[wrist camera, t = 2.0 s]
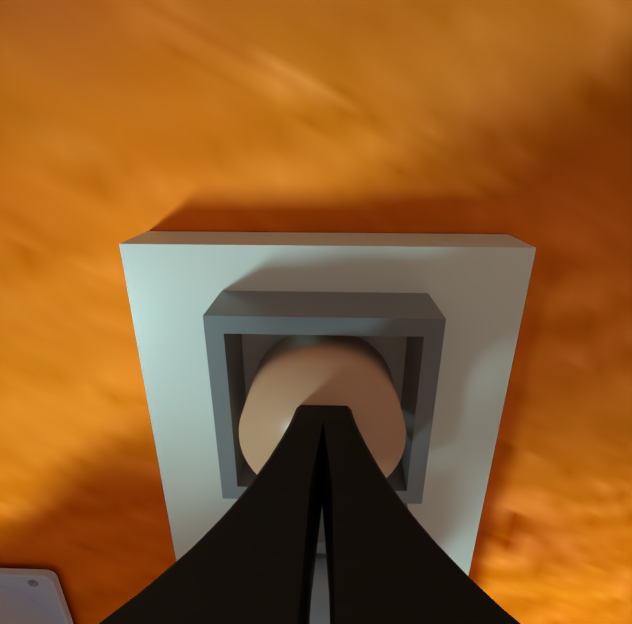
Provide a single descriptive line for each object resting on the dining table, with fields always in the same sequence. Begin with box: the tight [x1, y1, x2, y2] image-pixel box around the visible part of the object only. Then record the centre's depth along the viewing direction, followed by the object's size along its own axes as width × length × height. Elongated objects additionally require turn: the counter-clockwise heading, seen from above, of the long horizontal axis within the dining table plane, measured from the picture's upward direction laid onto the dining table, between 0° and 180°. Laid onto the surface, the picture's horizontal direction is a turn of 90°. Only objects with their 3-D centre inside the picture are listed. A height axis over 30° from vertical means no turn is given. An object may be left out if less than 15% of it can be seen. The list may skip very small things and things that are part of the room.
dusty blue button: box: [310, 553, 330, 624], centre depth 14 cm, size 4×4×2 cm
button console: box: [119, 231, 536, 576], centre depth 16 cm, size 12×25×4 cm, turn 0°
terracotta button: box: [239, 335, 406, 478], centre depth 12 cm, size 4×4×2 cm
